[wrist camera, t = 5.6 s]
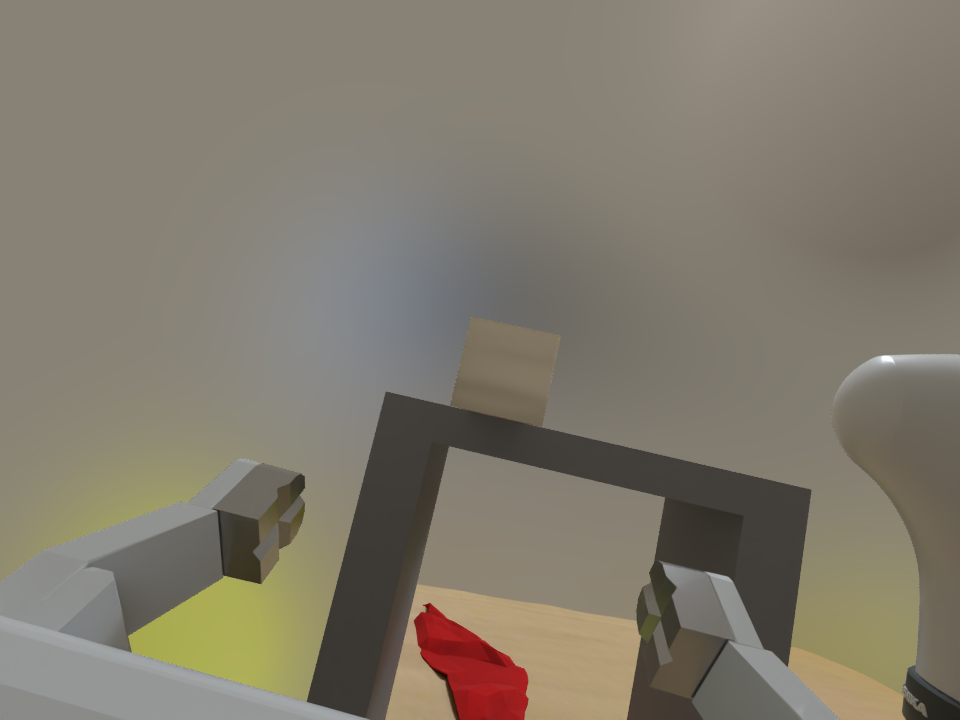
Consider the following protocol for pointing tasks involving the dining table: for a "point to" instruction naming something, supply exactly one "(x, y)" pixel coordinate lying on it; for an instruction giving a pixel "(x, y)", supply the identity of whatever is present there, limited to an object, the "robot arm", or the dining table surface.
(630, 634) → the dining table surface
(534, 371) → the maple bar
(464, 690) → the cloth
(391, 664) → the grey arch
